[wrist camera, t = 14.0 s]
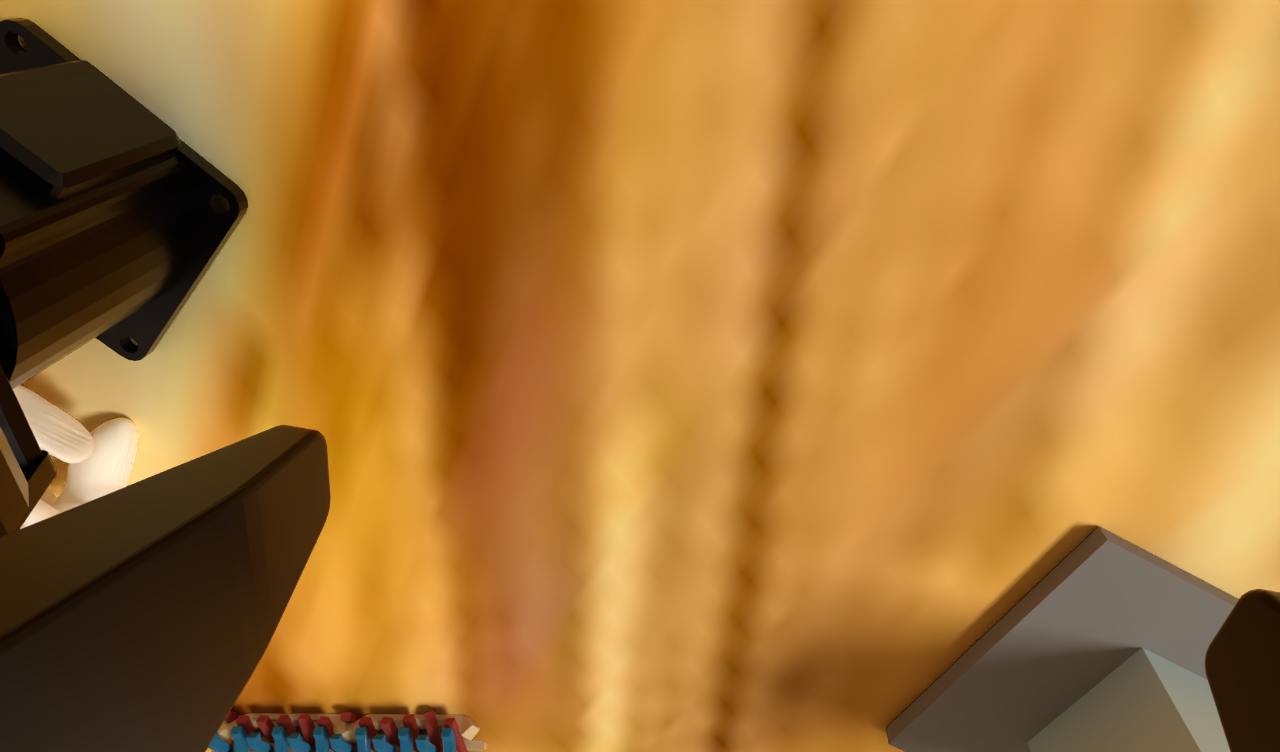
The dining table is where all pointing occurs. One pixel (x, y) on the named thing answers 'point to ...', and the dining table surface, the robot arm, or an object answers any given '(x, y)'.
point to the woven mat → (346, 733)
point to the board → (1139, 713)
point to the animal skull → (78, 454)
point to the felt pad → (1064, 647)
